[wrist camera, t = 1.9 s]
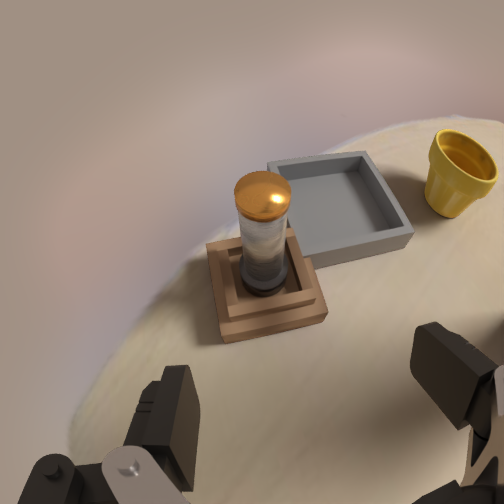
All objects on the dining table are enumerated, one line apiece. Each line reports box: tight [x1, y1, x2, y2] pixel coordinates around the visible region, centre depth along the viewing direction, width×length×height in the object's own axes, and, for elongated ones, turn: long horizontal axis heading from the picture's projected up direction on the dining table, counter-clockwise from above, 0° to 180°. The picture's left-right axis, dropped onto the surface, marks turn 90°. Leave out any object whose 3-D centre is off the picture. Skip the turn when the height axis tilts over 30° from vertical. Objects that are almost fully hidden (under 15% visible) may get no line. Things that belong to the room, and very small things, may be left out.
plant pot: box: [424, 129, 498, 218], centre depth 33 cm, size 10×10×10 cm
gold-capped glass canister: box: [234, 171, 291, 297], centre depth 24 cm, size 4×4×12 cm
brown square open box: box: [206, 227, 328, 344], centre depth 30 cm, size 10×10×4 cm
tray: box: [267, 151, 415, 269], centre depth 35 cm, size 14×14×4 cm
